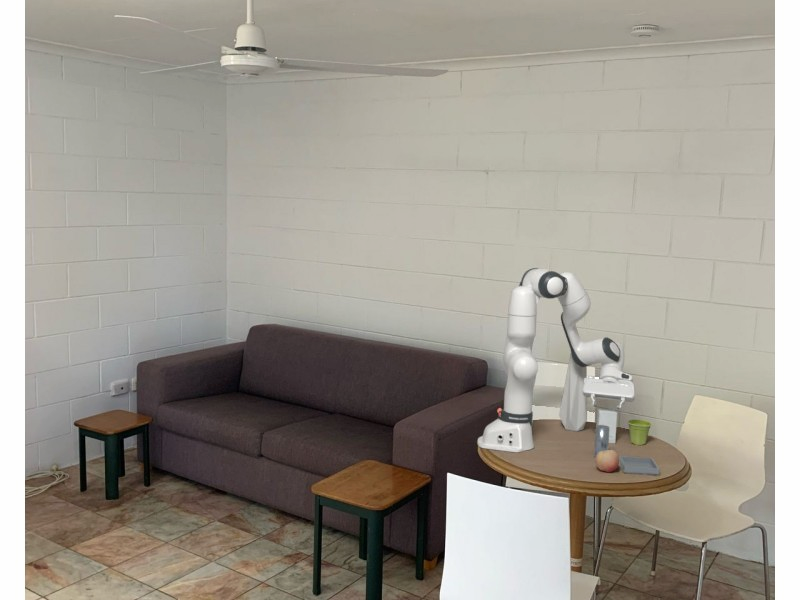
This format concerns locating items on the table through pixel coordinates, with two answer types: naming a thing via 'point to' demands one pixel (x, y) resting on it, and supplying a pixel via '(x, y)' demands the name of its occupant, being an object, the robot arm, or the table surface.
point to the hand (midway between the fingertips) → (606, 407)
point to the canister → (601, 439)
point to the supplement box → (608, 421)
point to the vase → (574, 398)
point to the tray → (638, 465)
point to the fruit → (607, 460)
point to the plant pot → (639, 431)
